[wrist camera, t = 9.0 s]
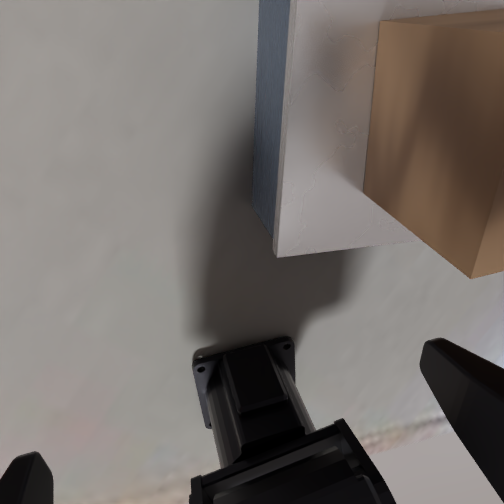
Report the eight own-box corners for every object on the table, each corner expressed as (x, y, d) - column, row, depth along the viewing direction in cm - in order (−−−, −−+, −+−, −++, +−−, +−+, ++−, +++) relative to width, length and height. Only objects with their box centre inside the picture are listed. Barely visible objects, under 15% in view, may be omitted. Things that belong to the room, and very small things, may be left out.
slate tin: (450, 188, 24) (518, 228, 20) (245, 206, 21) (277, 257, 17) (534, -83, 17) (662, -107, 13) (255, -115, 14) (309, -159, 10)
